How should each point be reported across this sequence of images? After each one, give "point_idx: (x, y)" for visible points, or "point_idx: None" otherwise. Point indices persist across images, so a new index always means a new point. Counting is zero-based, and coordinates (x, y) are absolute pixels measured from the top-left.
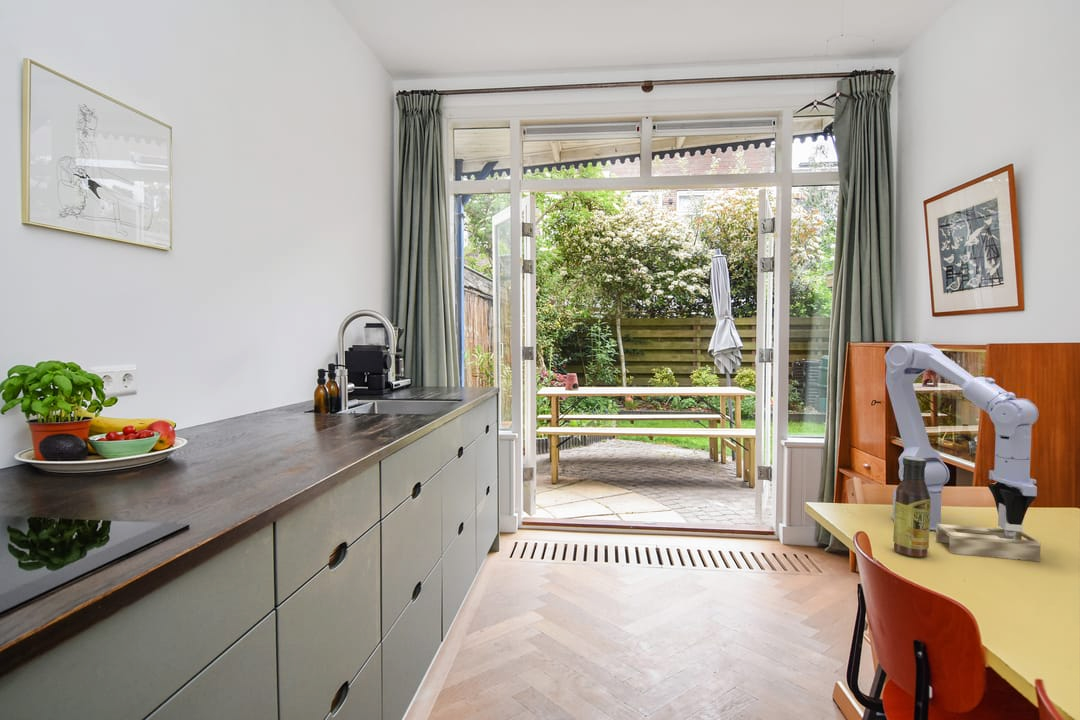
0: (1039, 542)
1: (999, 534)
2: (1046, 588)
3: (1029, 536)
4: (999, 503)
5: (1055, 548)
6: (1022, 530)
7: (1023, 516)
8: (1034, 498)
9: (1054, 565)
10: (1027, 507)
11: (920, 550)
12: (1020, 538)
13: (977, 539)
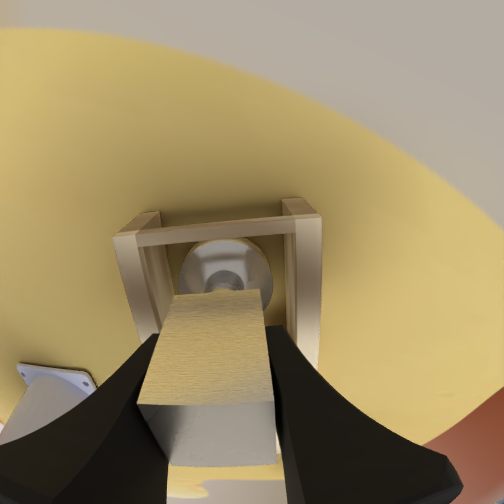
0: (316, 220)
1: (161, 311)
2: (490, 275)
3: (213, 227)
4: (183, 462)
5: (92, 78)
6: (259, 291)
7: (303, 357)
8: (437, 456)
9: (329, 162)
10: (346, 403)
11: None
12: (147, 228)
13: None
